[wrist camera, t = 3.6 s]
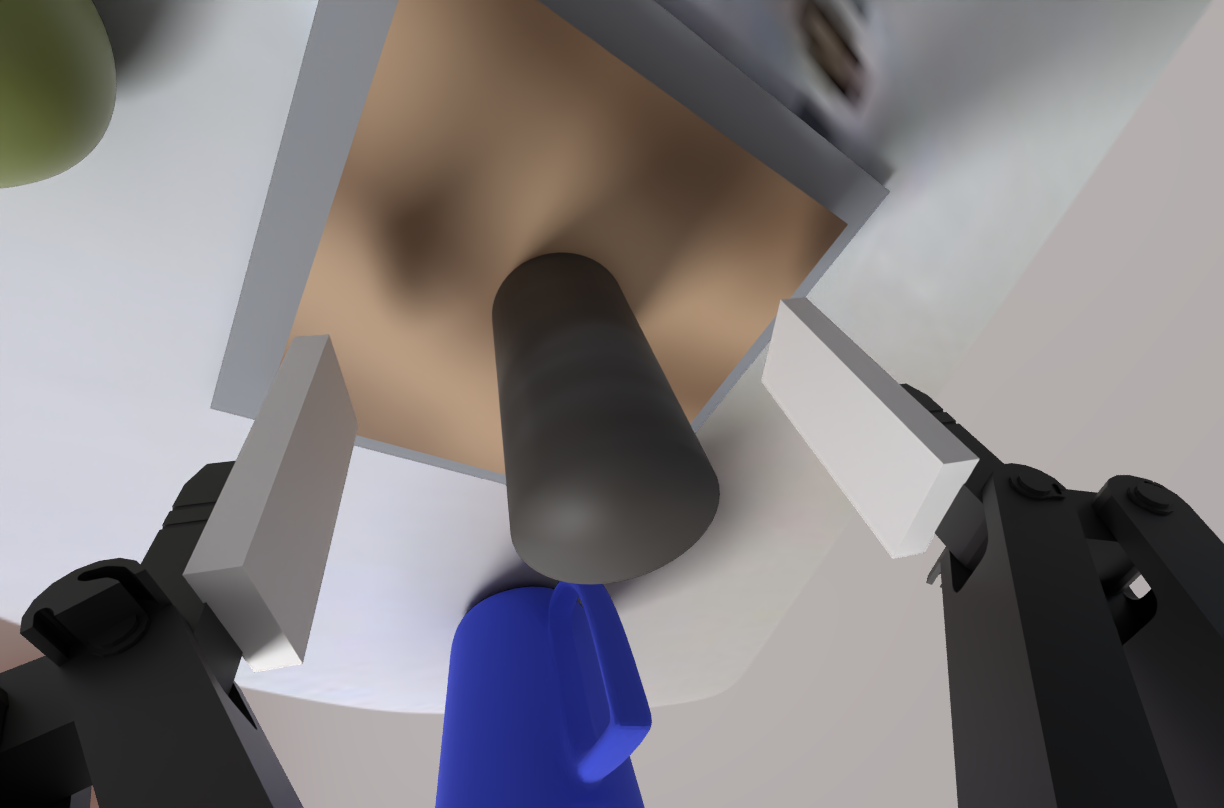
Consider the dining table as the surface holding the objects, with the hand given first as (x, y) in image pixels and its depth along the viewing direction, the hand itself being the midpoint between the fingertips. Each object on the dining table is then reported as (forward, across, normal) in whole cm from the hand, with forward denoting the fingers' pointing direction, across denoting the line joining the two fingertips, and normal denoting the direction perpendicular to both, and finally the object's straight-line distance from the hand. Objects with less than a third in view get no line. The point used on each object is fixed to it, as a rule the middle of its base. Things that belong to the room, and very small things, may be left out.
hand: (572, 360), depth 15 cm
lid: (+4, 0, 0) cm, 4 cm away
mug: (+4, -1, -16) cm, 17 cm away
